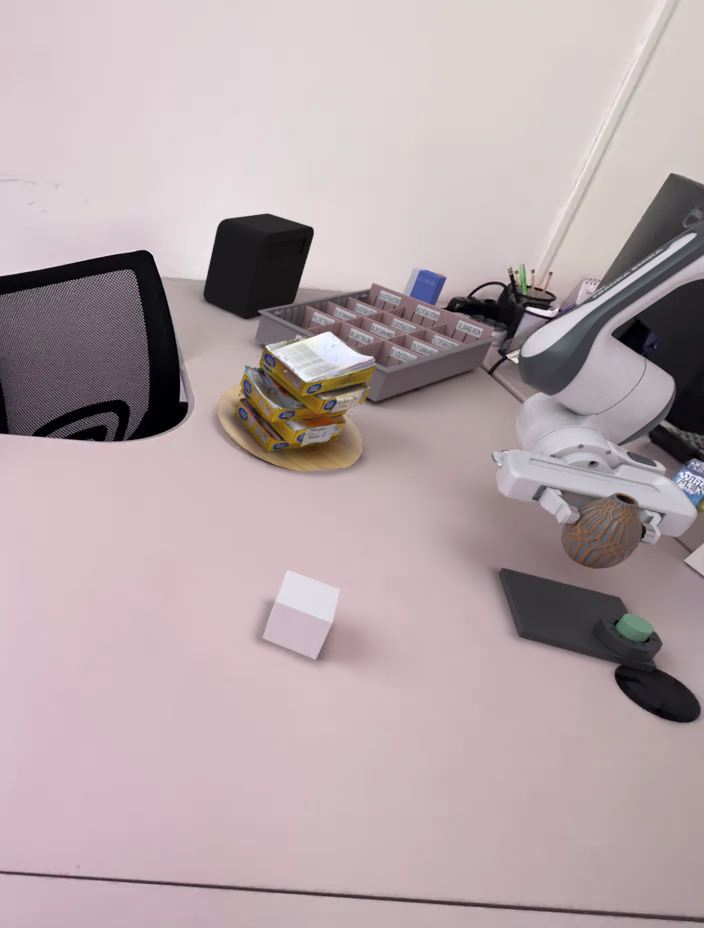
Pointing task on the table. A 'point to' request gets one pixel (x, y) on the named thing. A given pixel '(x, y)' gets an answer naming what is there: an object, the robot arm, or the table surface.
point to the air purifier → (256, 263)
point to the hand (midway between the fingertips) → (610, 529)
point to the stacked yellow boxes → (300, 404)
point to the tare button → (634, 628)
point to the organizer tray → (386, 335)
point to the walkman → (425, 285)
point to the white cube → (302, 614)
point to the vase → (604, 532)
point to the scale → (574, 620)
